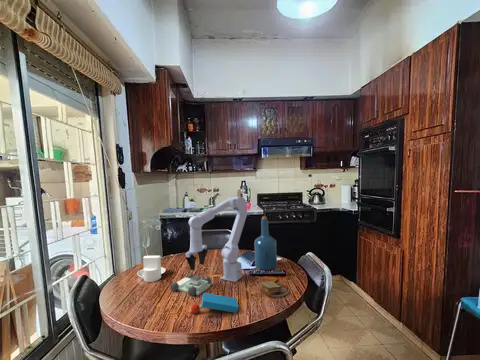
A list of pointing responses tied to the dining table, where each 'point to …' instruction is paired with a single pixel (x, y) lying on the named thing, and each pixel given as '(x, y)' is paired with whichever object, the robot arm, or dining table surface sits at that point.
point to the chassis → (186, 287)
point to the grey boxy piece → (196, 281)
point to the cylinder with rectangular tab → (152, 268)
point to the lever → (216, 303)
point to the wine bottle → (265, 248)
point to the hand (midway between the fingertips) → (197, 266)
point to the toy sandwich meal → (274, 288)
